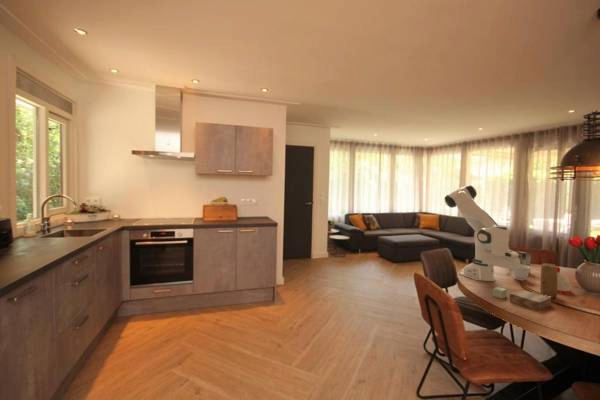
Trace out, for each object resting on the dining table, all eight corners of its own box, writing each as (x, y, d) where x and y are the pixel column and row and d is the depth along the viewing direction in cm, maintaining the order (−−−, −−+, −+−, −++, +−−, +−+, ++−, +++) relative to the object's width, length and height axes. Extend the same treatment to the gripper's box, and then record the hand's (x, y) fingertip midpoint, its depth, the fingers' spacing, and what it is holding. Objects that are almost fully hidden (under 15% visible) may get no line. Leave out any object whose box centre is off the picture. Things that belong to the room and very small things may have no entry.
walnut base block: (509, 301, 162) (510, 293, 162) (522, 297, 169) (522, 289, 168) (538, 311, 150) (539, 302, 150) (550, 306, 156) (551, 297, 156)
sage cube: (493, 295, 171) (493, 288, 170) (497, 294, 173) (497, 286, 173) (502, 298, 166) (502, 290, 166) (506, 297, 169) (506, 289, 168)
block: (557, 299, 164) (558, 267, 163) (540, 296, 169) (541, 265, 168) (555, 294, 173) (556, 263, 172) (539, 291, 177) (540, 261, 176)
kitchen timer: (574, 291, 178) (575, 268, 178) (566, 295, 172) (567, 271, 171) (547, 284, 190) (547, 263, 190) (538, 288, 184) (539, 266, 183)
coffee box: (512, 270, 223) (513, 251, 223) (518, 269, 225) (519, 250, 224) (524, 273, 214) (525, 253, 214) (530, 273, 216) (531, 253, 216)
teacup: (520, 275, 210) (520, 262, 210) (534, 282, 195) (535, 268, 195) (503, 275, 211) (503, 262, 211) (516, 281, 196) (517, 268, 196)
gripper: (479, 249, 176) (479, 270, 177) (516, 255, 158) (516, 278, 159) (485, 248, 179) (485, 269, 180) (521, 254, 161) (521, 277, 162)
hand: (500, 273), depth 169 cm, fingers open, 8 cm apart
